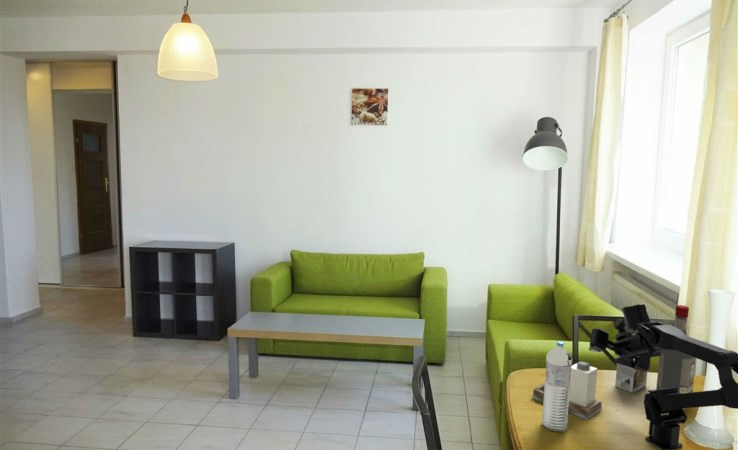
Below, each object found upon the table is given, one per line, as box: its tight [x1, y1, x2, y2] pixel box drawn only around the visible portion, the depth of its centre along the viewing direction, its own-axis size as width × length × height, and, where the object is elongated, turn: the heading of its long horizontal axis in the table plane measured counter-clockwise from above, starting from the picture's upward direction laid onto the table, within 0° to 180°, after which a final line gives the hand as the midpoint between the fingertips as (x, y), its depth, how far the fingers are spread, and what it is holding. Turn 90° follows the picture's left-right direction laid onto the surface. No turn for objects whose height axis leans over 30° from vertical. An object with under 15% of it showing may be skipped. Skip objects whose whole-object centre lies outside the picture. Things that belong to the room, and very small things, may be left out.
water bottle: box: [541, 340, 573, 433], centre depth 145 cm, size 7×7×25 cm
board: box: [531, 382, 603, 420], centre depth 161 cm, size 18×10×3 cm, turn 42°
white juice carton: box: [569, 361, 598, 408], centre depth 157 cm, size 6×6×13 cm
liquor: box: [655, 304, 697, 393], centre depth 167 cm, size 9×9×30 cm
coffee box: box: [614, 355, 648, 393], centre depth 174 cm, size 9×6×16 cm
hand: (602, 355), depth 161 cm, fingers open, 9 cm apart
